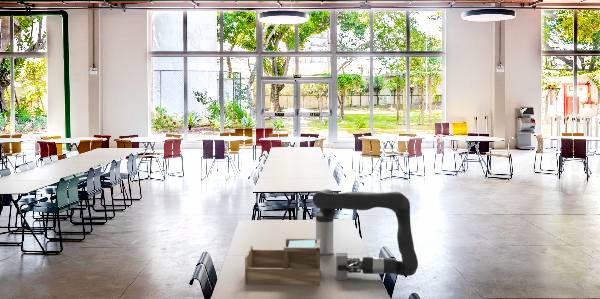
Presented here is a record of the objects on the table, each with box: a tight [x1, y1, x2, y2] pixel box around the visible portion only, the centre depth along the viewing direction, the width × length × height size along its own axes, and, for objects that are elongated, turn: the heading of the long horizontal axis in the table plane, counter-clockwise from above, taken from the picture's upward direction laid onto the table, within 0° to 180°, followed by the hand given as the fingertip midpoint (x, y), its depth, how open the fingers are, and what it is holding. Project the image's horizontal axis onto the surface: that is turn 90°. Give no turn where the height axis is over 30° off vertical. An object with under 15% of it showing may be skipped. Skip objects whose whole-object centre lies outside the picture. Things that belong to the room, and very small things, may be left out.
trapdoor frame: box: [244, 238, 321, 286], centre depth 276 cm, size 20×33×16 cm, turn 87°
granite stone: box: [335, 252, 348, 281], centre depth 275 cm, size 5×5×11 cm
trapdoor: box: [288, 240, 316, 247], centre depth 275 cm, size 12×12×1 cm
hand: (337, 265), depth 275 cm, fingers open, 8 cm apart
